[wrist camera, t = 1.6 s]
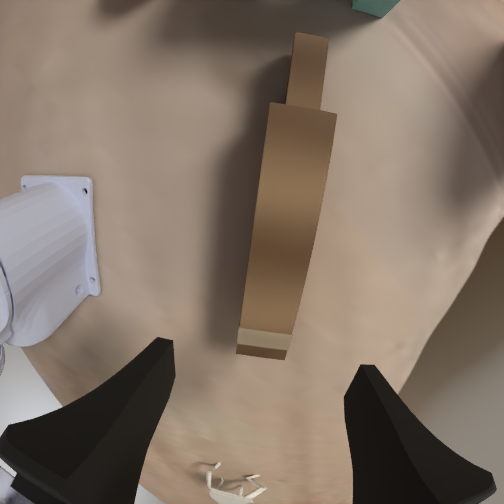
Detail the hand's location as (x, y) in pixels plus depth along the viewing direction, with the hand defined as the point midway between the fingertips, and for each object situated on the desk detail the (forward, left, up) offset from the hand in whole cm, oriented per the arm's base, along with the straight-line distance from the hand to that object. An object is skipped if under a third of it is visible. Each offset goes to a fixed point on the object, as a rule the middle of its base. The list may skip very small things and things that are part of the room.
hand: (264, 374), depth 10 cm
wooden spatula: (+5, 0, -10) cm, 11 cm away
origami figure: (-35, 0, -10) cm, 36 cm away
